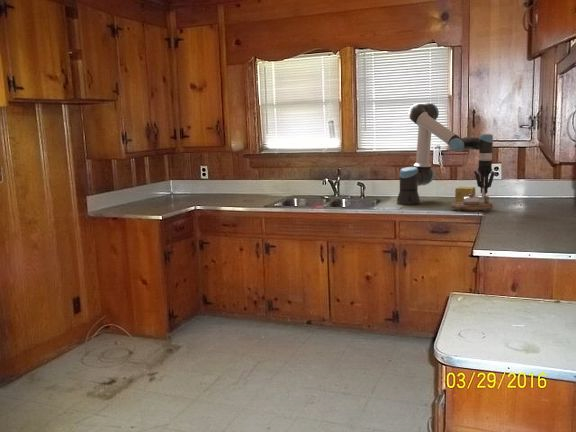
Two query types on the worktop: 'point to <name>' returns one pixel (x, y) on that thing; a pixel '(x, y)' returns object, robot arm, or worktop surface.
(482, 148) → the robot arm
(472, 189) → the cheese
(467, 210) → the turntable base
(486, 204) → the turntable
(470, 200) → the cover
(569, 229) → the worktop surface
